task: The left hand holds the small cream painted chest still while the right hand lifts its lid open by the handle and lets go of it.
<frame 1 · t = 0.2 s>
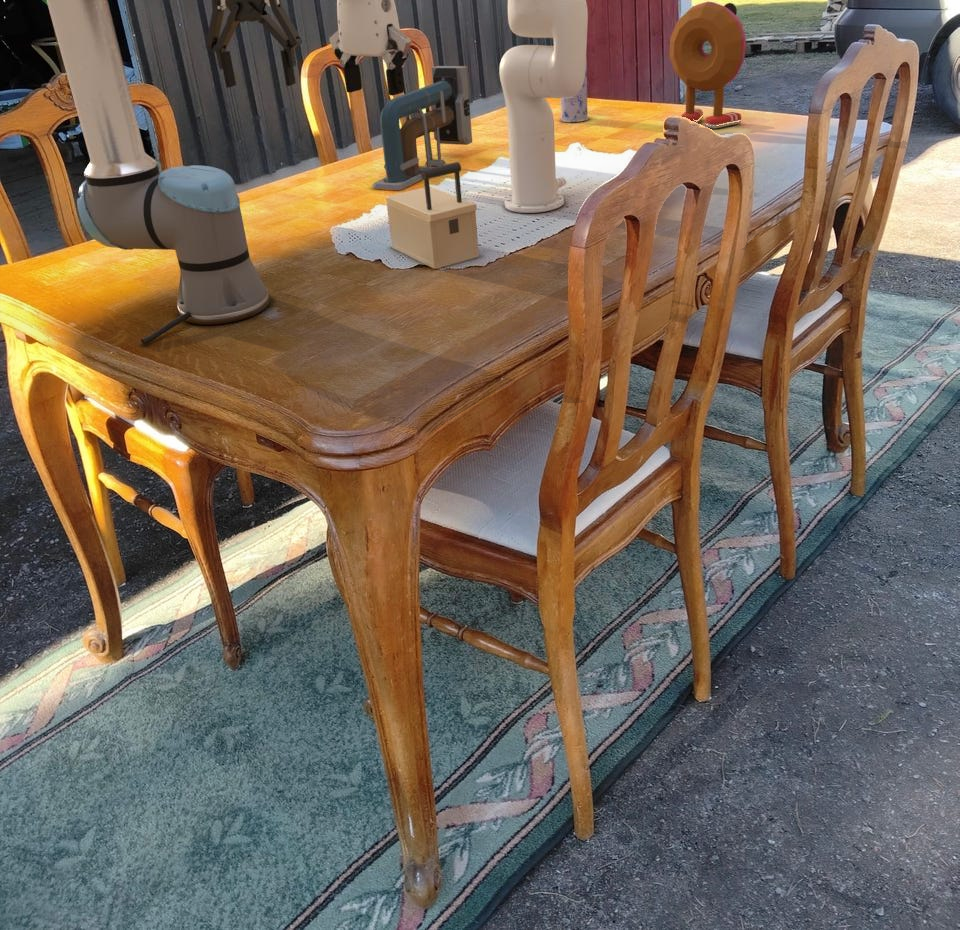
left hand: (261, 85, 196), 28 cm above the table, tool pointing down, fingers open, 13 cm apart
right hand: (375, 92, 161), 31 cm above the table, tool pointing down, fingers open, 9 cm apart
toy: (706, 124, 260), on the table
clamp: (423, 171, 239), on the table
lid: (428, 184, 177), point 13 cm above the table, hinge at 0.0°
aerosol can: (574, 120, 278), on the table
chest: (434, 252, 184), on the table
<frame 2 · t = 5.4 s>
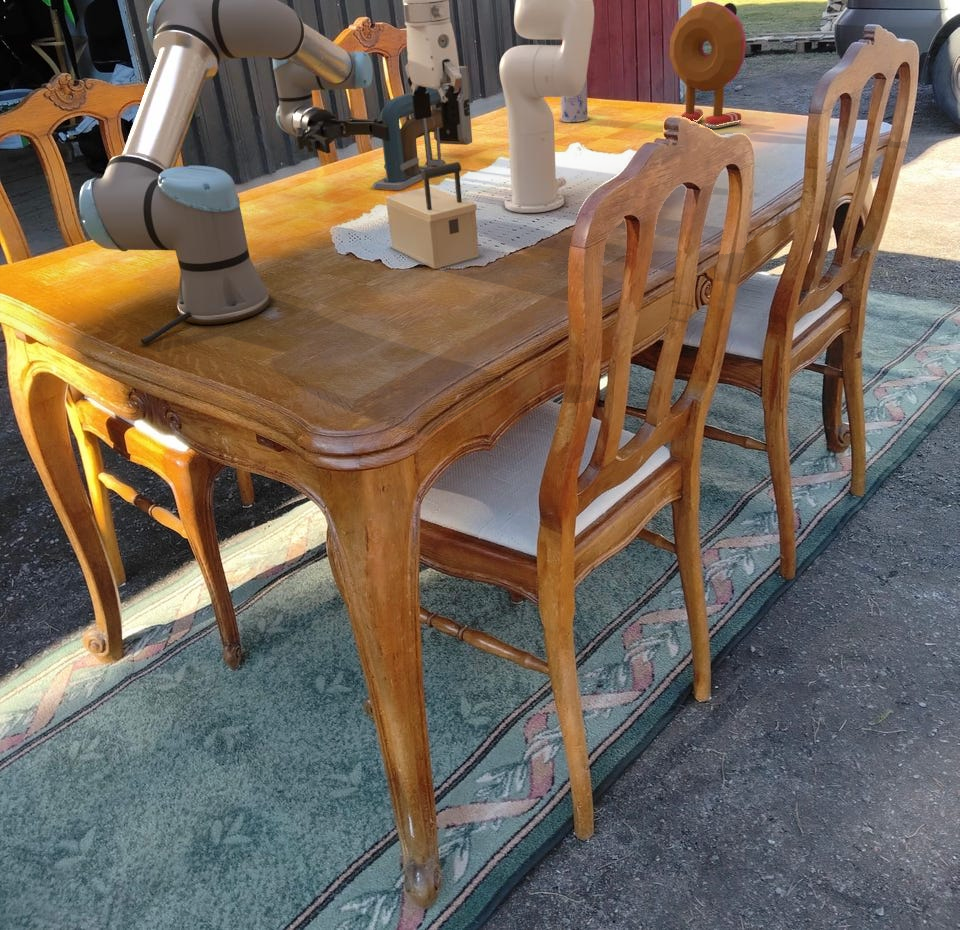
left hand: (358, 140, 197), 17 cm above the table, tool horizontal, fingers open, 13 cm apart
right hand: (437, 121, 167), 25 cm above the table, tool pointing down, fingers open, 9 cm apart
nothing on the table moved.
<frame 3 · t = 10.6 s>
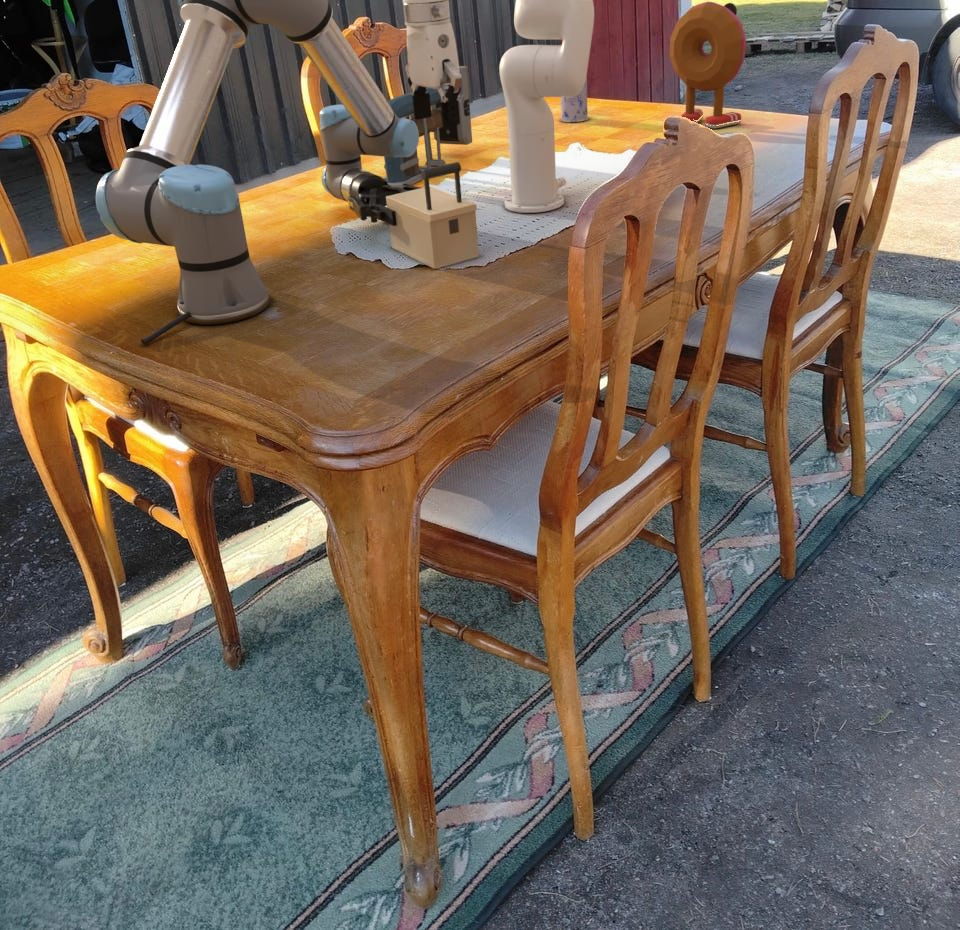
left hand: (418, 212, 185), 7 cm above the table, tool horizontal, fingers closed on chest, 10 cm apart
right hand: (437, 121, 167), 25 cm above the table, tool pointing down, fingers open, 9 cm apart
chest: (434, 252, 184), on the table, touching left hand
everything else where it was.
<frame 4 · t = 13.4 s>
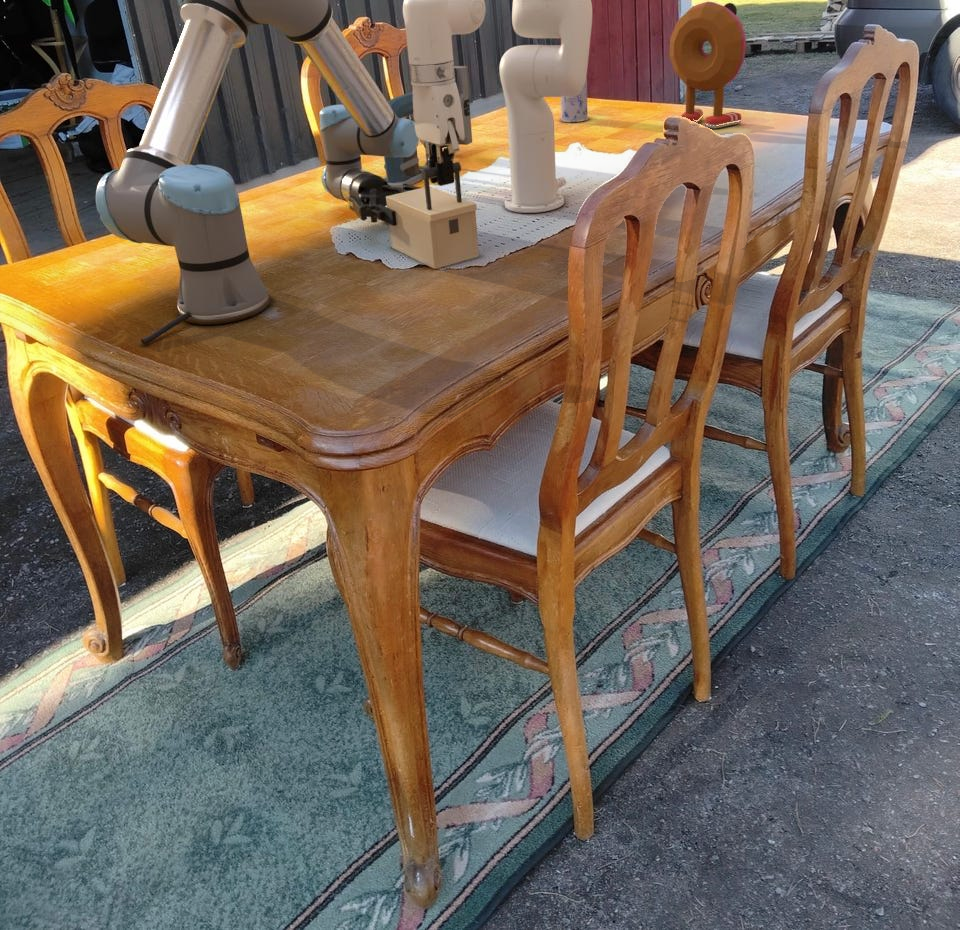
left hand: (418, 212, 185), 7 cm above the table, tool horizontal, fingers closed on chest, 10 cm apart
right hand: (442, 182, 173), 14 cm above the table, tool pointing down, fingers closed on lid
lid: (428, 183, 177), point 13 cm above the table, hinge at 0.0°, touching right hand
chest: (434, 252, 184), on the table, touching left hand
everything else where it was.
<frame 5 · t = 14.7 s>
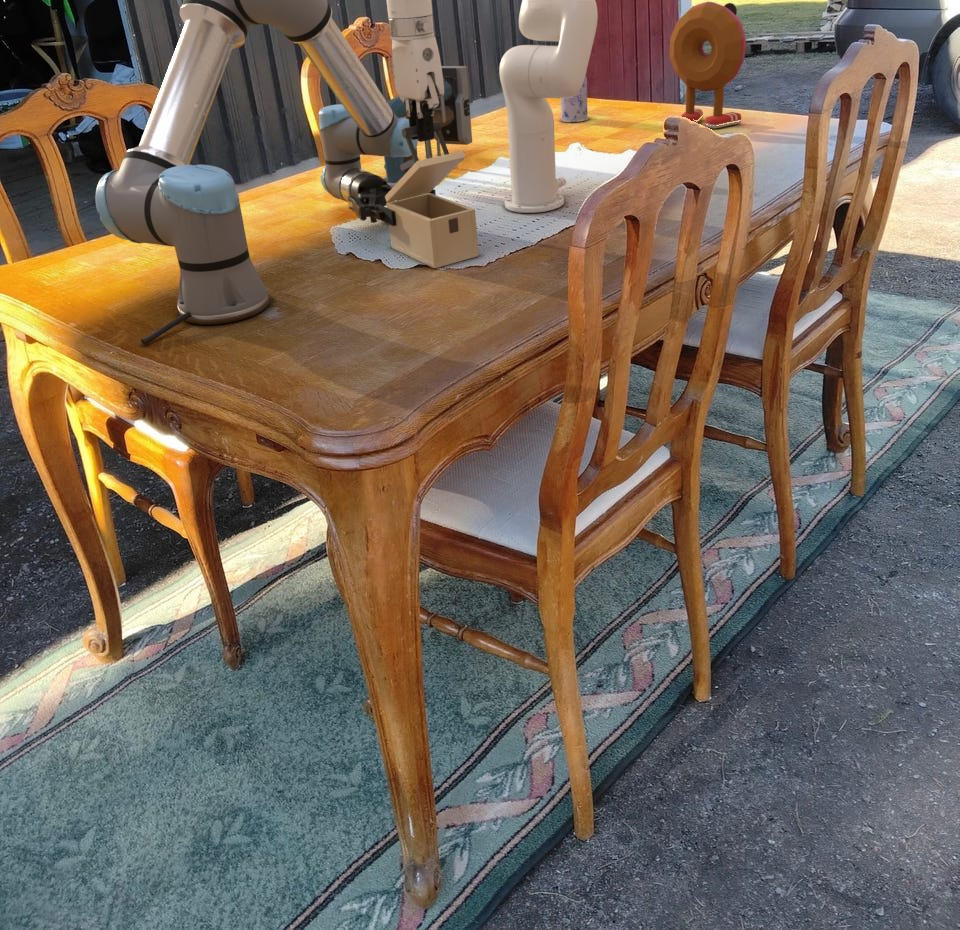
left hand: (417, 212, 185), 7 cm above the table, tool horizontal, fingers closed on chest, 10 cm apart
right hand: (422, 138, 174), 21 cm above the table, tool pointing down, fingers closed on lid
lid: (417, 159, 178), point 17 cm above the table, hinge at 31.1°, touching right hand
chest: (434, 251, 184), on the table, touching left hand
everything else where it was.
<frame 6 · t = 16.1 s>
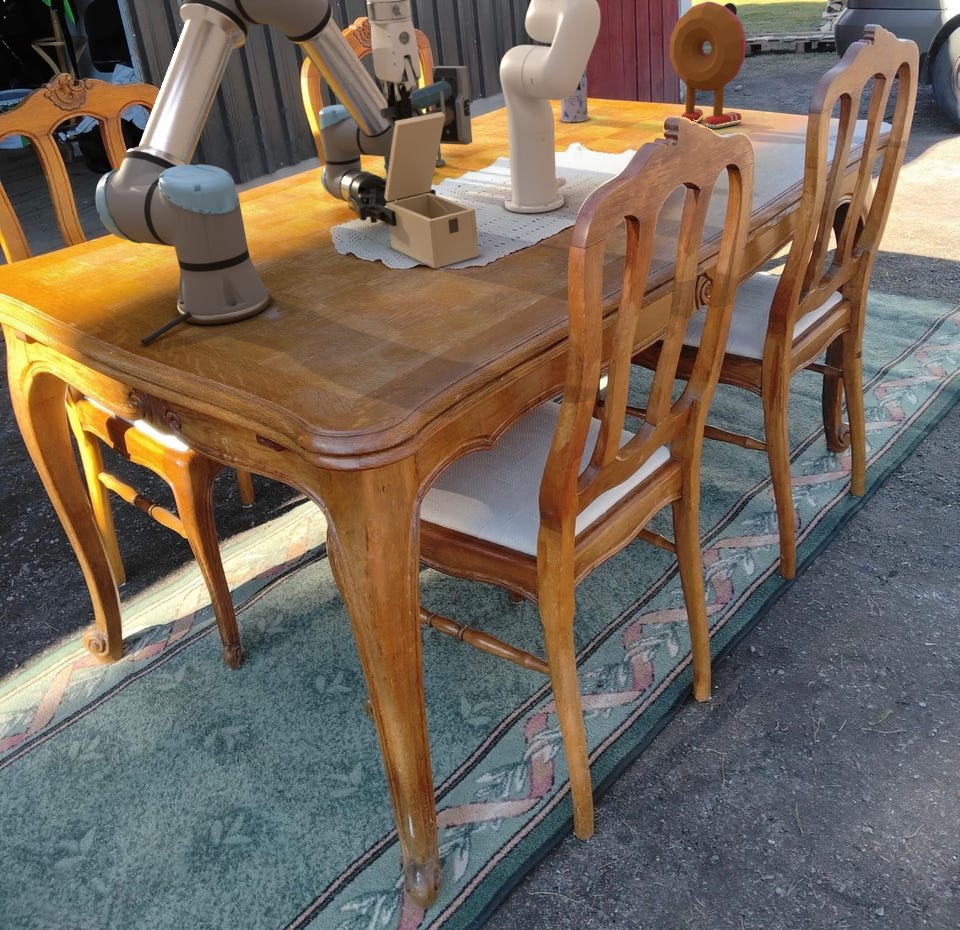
left hand: (417, 212, 185), 7 cm above the table, tool horizontal, fingers closed on chest, 10 cm apart
right hand: (401, 120, 178), 23 cm above the table, tool pointing down, fingers closed
lid: (404, 145, 180), point 19 cm above the table, hinge at 60.8°
chest: (434, 252, 184), on the table, touching left hand
everything else where it was.
when the left hand's fingers open (7 cm above the table, at t = 20.1 s): chest stays where it is, on the table.
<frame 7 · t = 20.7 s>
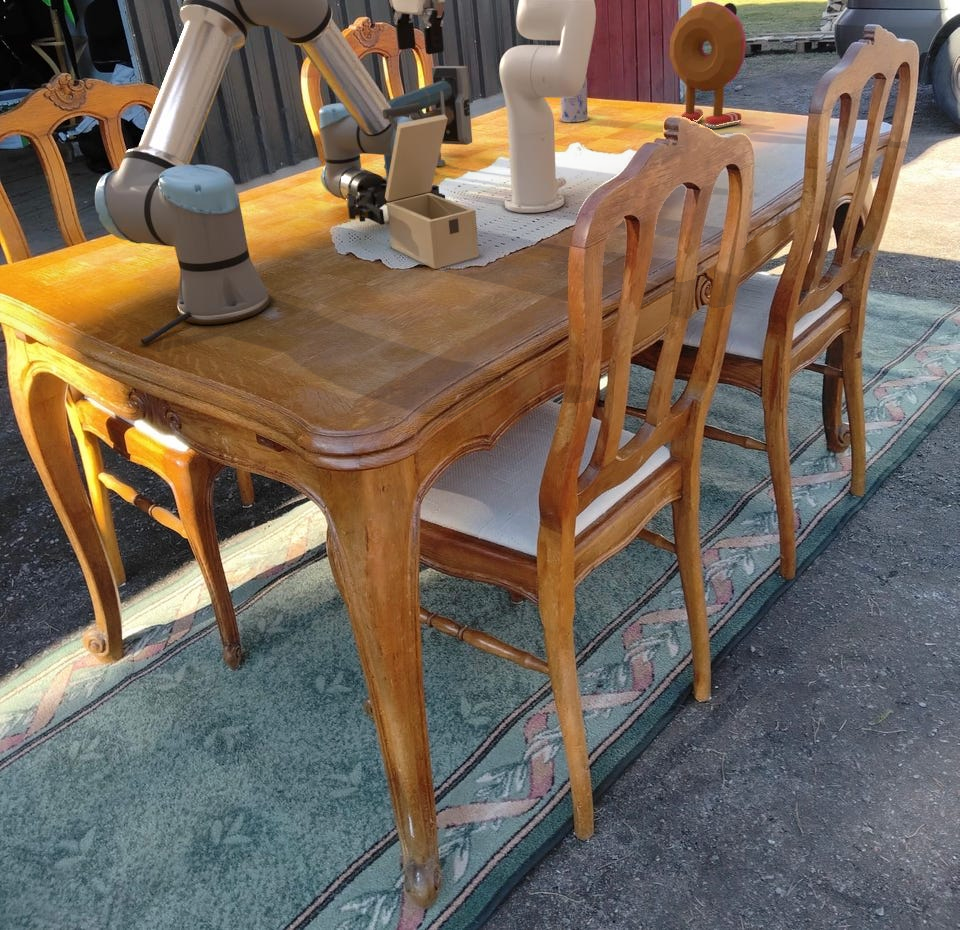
left hand: (413, 209, 186), 7 cm above the table, tool horizontal, fingers open, 13 cm apart
right hand: (420, 50, 164), 36 cm above the table, tool pointing down, fingers open, 9 cm apart
lid: (406, 146, 180), point 19 cm above the table, hinge at 58.5°
chest: (434, 252, 184), on the table
everything else where it was.
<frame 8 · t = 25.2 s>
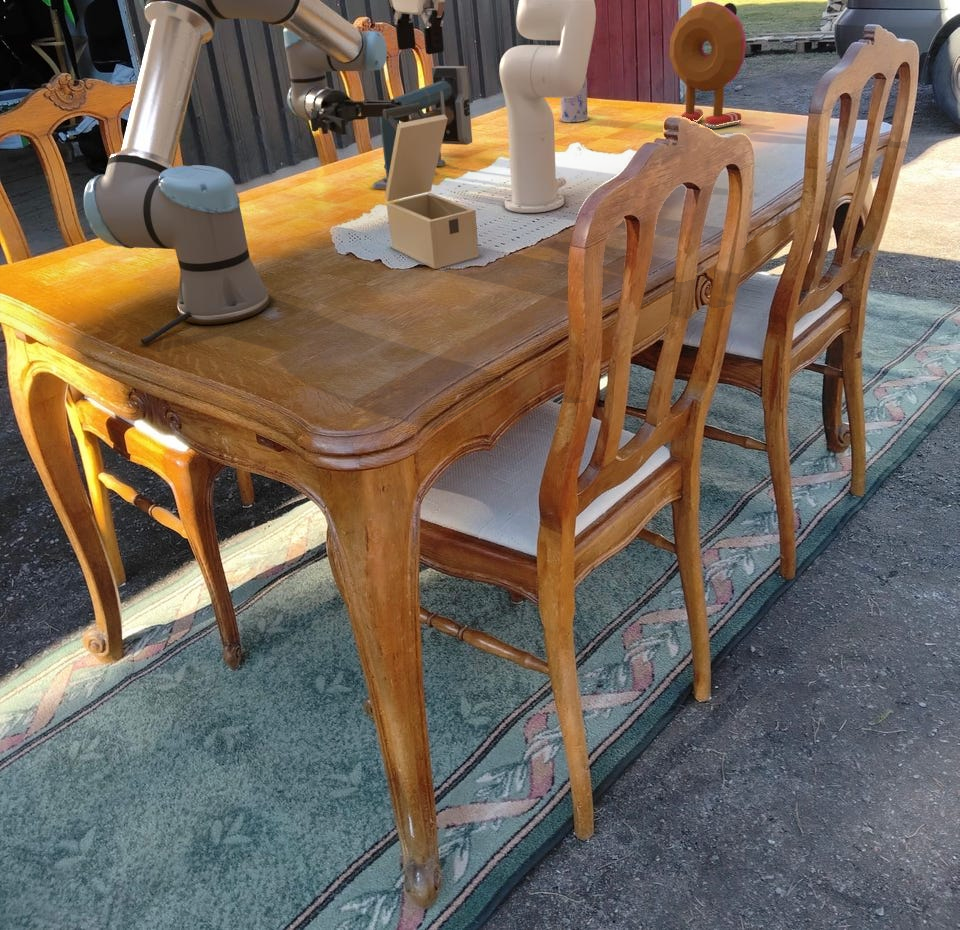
left hand: (375, 121, 187), 22 cm above the table, tool horizontal, fingers open, 13 cm apart
right hand: (420, 50, 164), 36 cm above the table, tool pointing down, fingers open, 9 cm apart
nothing on the table moved.
at the end: lid at +58° (first picture: +0°); the left hand is holding nothing; the right hand is holding nothing; chest tilted 0°; chest never tilted more than 1° during the clip; chest moved 0.0 cm from its start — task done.
